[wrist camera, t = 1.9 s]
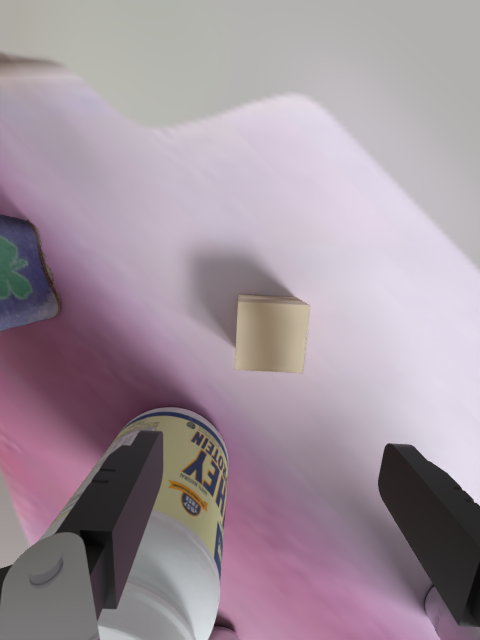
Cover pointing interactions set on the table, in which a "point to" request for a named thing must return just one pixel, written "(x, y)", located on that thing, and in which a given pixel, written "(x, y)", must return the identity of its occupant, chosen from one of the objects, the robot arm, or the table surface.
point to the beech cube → (271, 333)
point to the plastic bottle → (223, 634)
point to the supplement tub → (172, 534)
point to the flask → (24, 276)
